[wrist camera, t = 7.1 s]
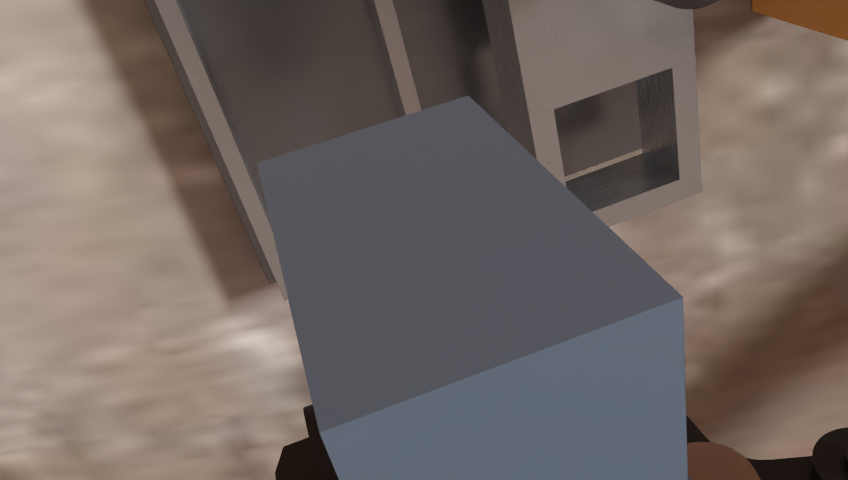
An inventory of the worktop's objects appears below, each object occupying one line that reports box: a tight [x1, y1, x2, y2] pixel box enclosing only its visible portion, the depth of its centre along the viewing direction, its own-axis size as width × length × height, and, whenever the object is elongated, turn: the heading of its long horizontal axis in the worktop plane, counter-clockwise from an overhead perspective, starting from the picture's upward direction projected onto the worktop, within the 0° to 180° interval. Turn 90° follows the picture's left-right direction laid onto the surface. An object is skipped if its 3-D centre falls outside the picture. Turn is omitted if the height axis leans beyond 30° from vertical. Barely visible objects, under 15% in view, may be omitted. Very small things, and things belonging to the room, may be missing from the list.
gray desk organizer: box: [145, 0, 718, 300], centre depth 27 cm, size 16×20×14 cm
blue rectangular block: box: [257, 96, 688, 480], centre depth 12 cm, size 4×10×6 cm, turn 13°
